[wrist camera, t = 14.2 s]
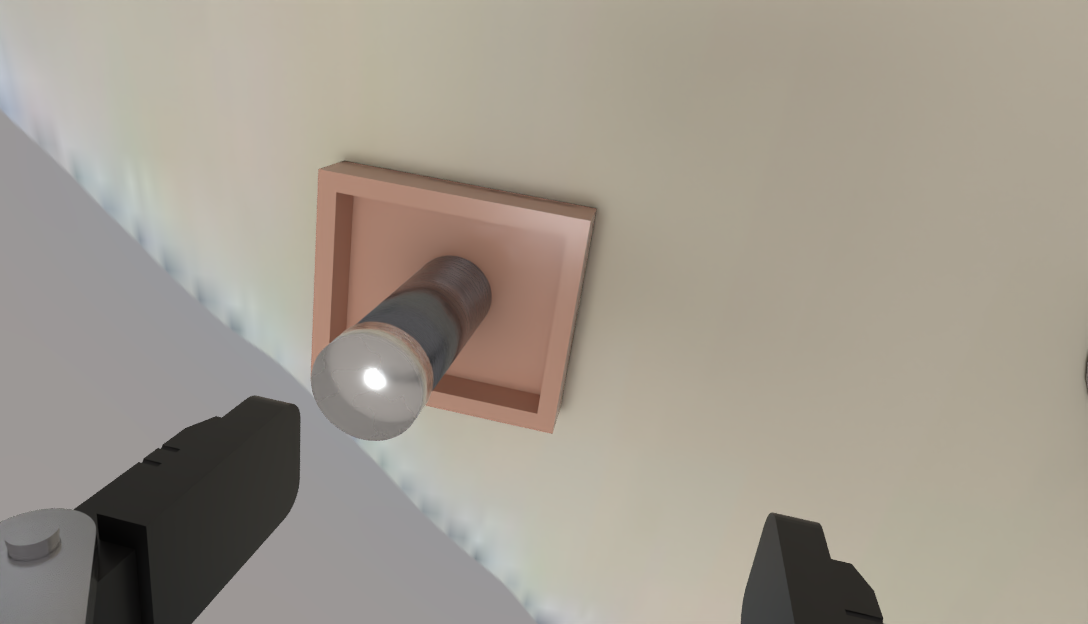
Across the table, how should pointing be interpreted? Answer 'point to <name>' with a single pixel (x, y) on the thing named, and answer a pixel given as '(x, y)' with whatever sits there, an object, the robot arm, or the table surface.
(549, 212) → the tray
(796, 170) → the table surface
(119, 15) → the table surface
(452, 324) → the shaker
